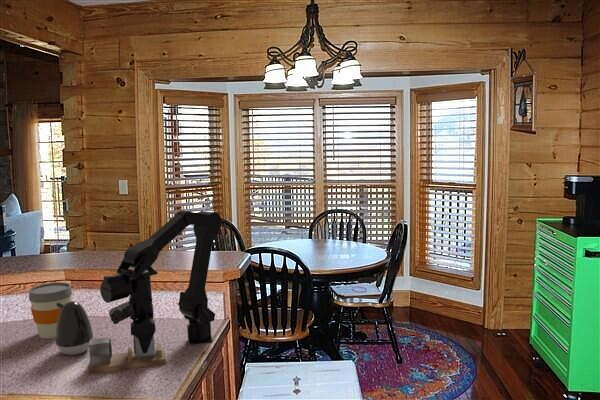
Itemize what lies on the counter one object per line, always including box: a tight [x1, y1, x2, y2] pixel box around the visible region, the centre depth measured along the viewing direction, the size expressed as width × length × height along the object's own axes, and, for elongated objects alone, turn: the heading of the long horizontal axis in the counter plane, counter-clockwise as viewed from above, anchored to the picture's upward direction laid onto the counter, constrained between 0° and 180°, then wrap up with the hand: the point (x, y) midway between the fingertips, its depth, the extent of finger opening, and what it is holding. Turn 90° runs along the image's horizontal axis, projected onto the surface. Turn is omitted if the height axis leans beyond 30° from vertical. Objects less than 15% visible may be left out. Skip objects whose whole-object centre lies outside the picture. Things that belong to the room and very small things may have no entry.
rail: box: [87, 336, 167, 376], centre depth 149 cm, size 20×8×8 cm, turn 107°
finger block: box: [132, 334, 156, 360], centre depth 150 cm, size 5×4×6 cm
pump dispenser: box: [54, 300, 94, 356], centre depth 157 cm, size 10×10×15 cm
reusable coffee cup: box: [28, 281, 73, 340], centre depth 172 cm, size 13×13×15 cm
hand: (144, 347), depth 150 cm, fingers open, 8 cm apart
